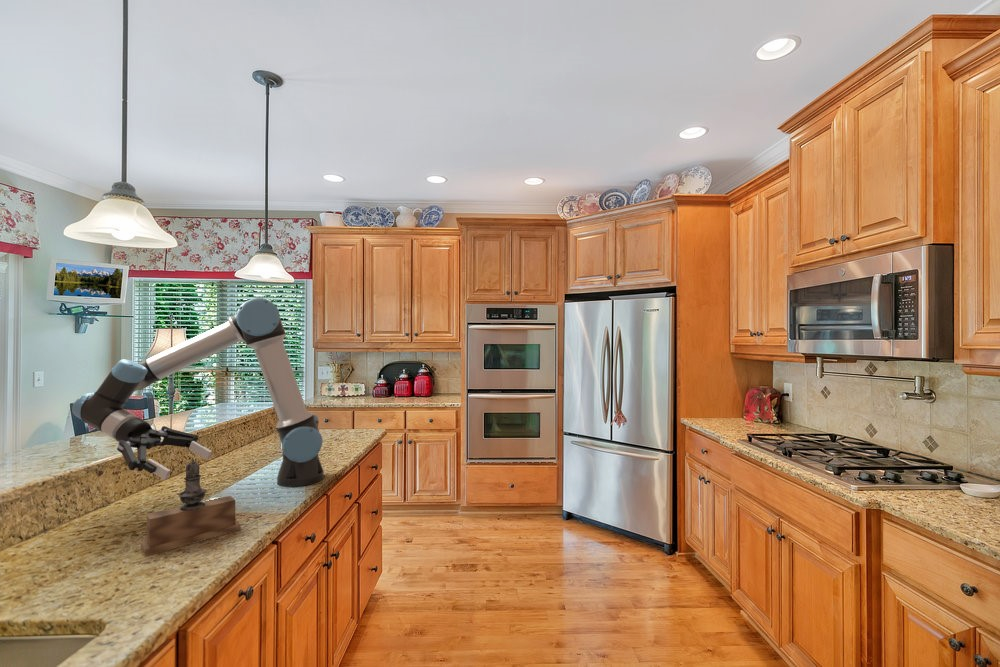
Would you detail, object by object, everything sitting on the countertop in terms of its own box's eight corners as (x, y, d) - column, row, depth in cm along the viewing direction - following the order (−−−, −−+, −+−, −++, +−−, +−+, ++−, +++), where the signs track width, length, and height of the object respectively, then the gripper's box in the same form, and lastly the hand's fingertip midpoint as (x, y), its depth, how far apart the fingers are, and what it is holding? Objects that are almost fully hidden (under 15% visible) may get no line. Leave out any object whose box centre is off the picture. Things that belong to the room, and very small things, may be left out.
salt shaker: (212, 503, 117) (212, 456, 118) (190, 512, 112) (190, 462, 112) (195, 501, 119) (195, 455, 119) (172, 509, 114) (172, 461, 114)
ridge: (233, 523, 125) (233, 494, 125) (240, 530, 120) (240, 499, 120) (141, 547, 111) (141, 514, 111) (144, 556, 106) (144, 521, 106)
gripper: (163, 426, 141) (220, 459, 138) (75, 456, 116) (143, 497, 114) (170, 405, 139) (228, 438, 137) (83, 431, 115) (151, 471, 113)
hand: (189, 465), depth 125 cm, fingers open, 13 cm apart
